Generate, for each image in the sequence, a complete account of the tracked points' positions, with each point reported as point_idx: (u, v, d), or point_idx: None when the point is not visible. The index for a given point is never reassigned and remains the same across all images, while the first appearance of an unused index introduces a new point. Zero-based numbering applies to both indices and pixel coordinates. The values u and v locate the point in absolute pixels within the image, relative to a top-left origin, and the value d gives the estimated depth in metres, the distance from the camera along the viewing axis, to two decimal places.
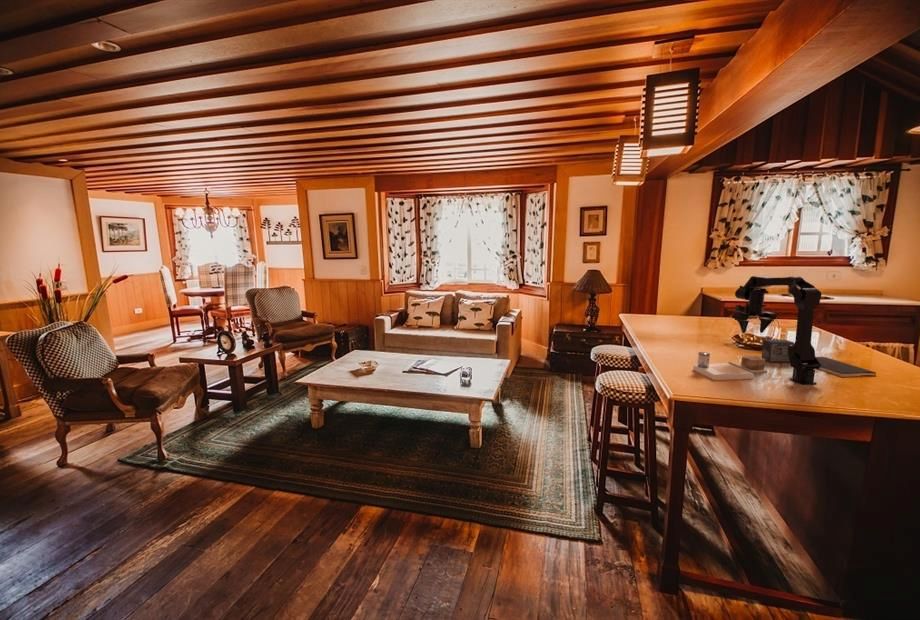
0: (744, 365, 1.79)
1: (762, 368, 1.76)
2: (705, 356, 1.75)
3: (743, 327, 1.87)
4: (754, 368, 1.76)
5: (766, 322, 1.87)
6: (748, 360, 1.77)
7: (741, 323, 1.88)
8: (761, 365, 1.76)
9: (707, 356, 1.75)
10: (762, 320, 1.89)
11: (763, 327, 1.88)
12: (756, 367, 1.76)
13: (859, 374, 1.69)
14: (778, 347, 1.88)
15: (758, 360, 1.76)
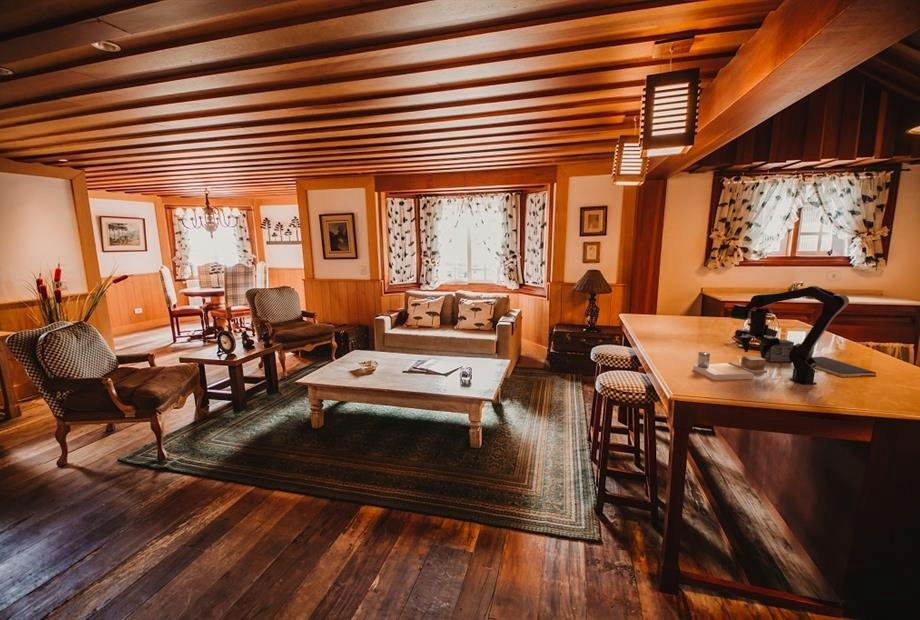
0: (744, 365, 1.79)
1: (762, 368, 1.76)
2: (705, 356, 1.75)
3: None
4: (754, 368, 1.76)
5: None
6: (748, 360, 1.77)
7: None
8: (761, 365, 1.76)
9: (707, 356, 1.75)
10: None
11: None
12: (756, 367, 1.76)
13: (859, 374, 1.69)
14: (778, 347, 1.88)
15: (758, 360, 1.76)
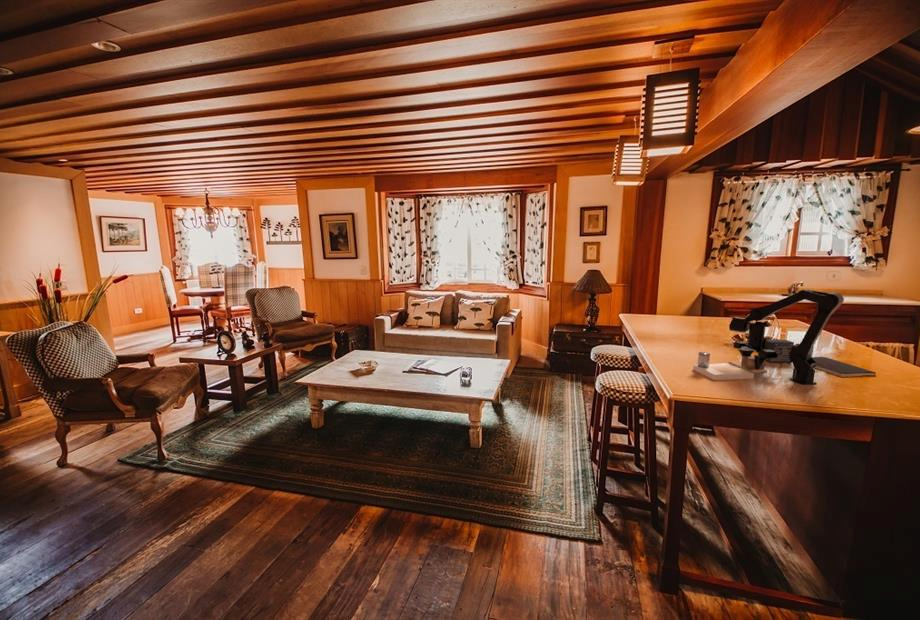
0: (744, 365, 1.79)
1: (762, 368, 1.76)
2: (705, 356, 1.75)
3: None
4: (754, 368, 1.76)
5: None
6: (748, 360, 1.77)
7: None
8: (761, 365, 1.76)
9: (707, 356, 1.75)
10: None
11: None
12: None
13: (859, 374, 1.69)
14: (778, 347, 1.88)
15: None
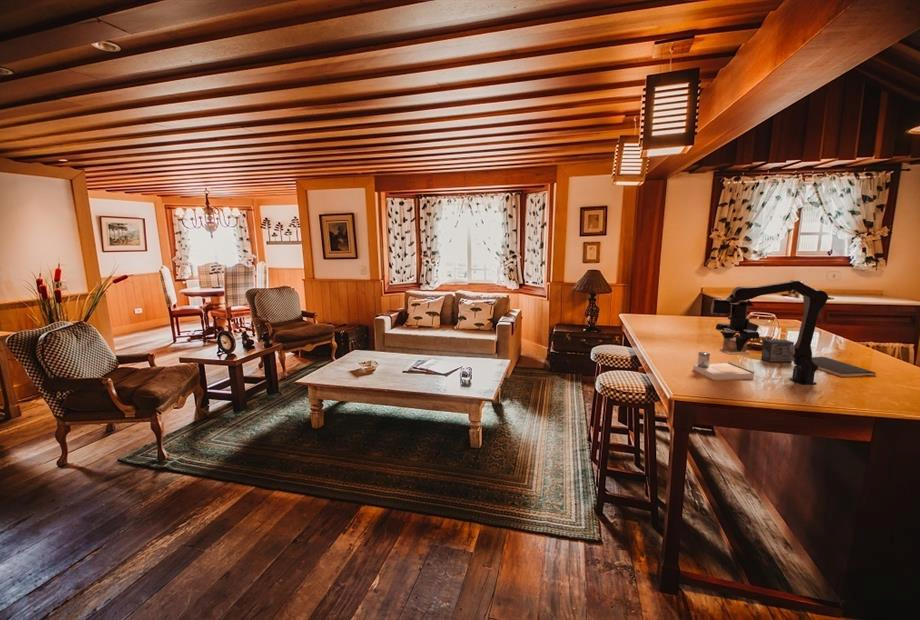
0: (726, 347, 1.72)
1: (744, 350, 1.70)
2: (705, 356, 1.75)
3: None
4: (736, 350, 1.69)
5: None
6: (730, 341, 1.70)
7: None
8: (743, 346, 1.69)
9: (707, 356, 1.75)
10: None
11: None
12: None
13: (859, 374, 1.69)
14: (778, 347, 1.88)
15: None
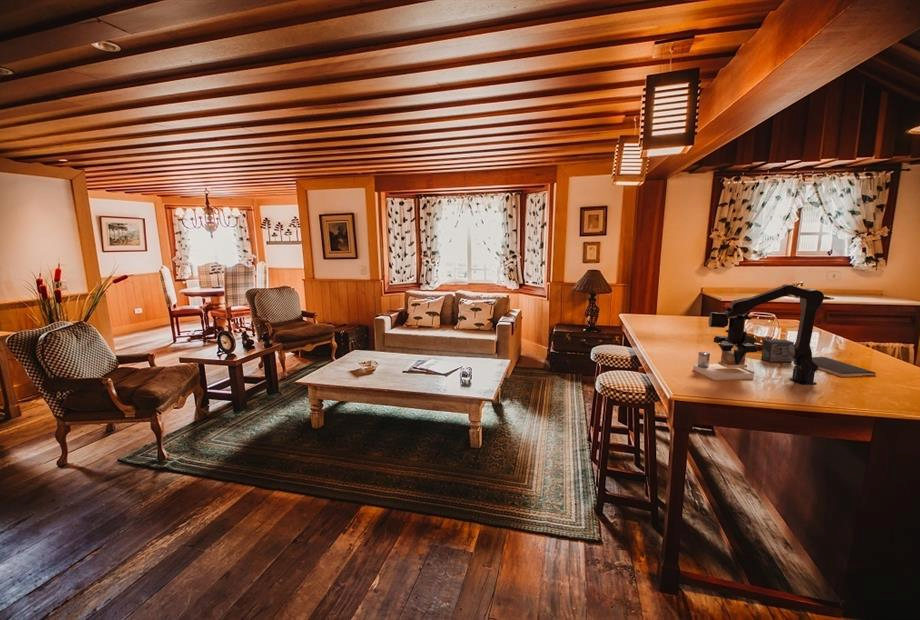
0: (724, 360, 1.73)
1: (742, 363, 1.70)
2: (705, 356, 1.75)
3: None
4: (734, 363, 1.70)
5: None
6: (728, 354, 1.70)
7: None
8: None
9: (707, 356, 1.75)
10: None
11: None
12: None
13: (858, 374, 1.69)
14: (778, 347, 1.88)
15: None
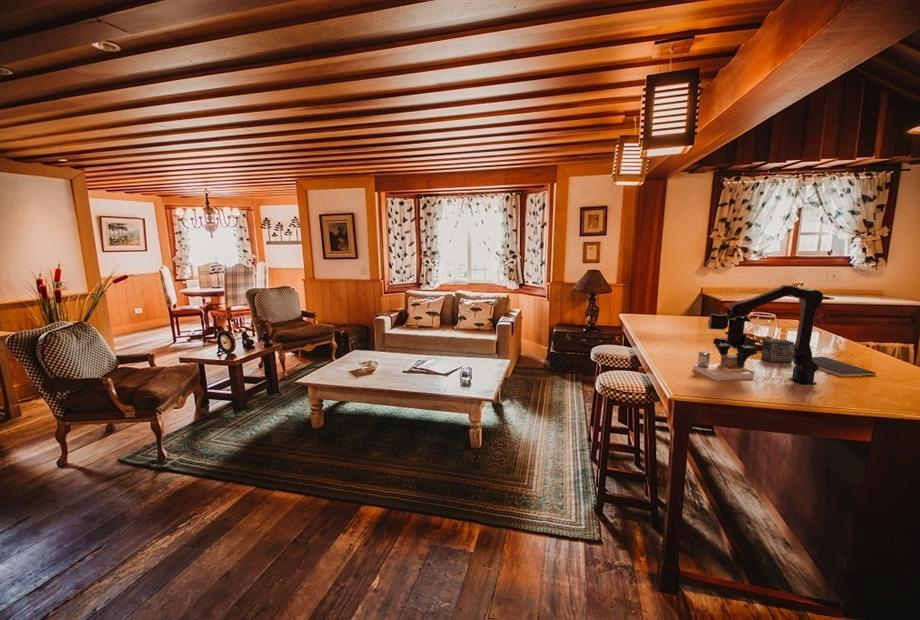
0: (723, 363, 1.73)
1: (742, 366, 1.71)
2: (705, 356, 1.75)
3: None
4: (733, 366, 1.70)
5: None
6: (727, 358, 1.71)
7: None
8: None
9: (707, 356, 1.75)
10: None
11: None
12: (736, 366, 1.70)
13: (858, 374, 1.69)
14: (778, 347, 1.88)
15: None
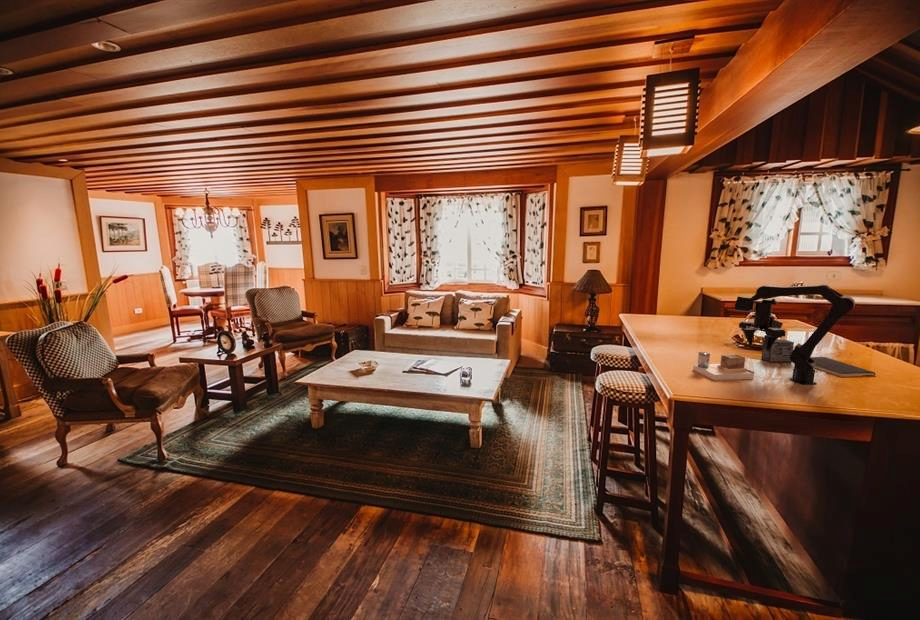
0: (723, 363, 1.73)
1: (742, 366, 1.71)
2: (705, 356, 1.75)
3: None
4: (733, 366, 1.70)
5: None
6: (727, 358, 1.71)
7: None
8: (741, 363, 1.70)
9: (707, 356, 1.75)
10: None
11: None
12: (736, 366, 1.70)
13: (858, 374, 1.69)
14: (778, 347, 1.88)
15: (737, 358, 1.70)
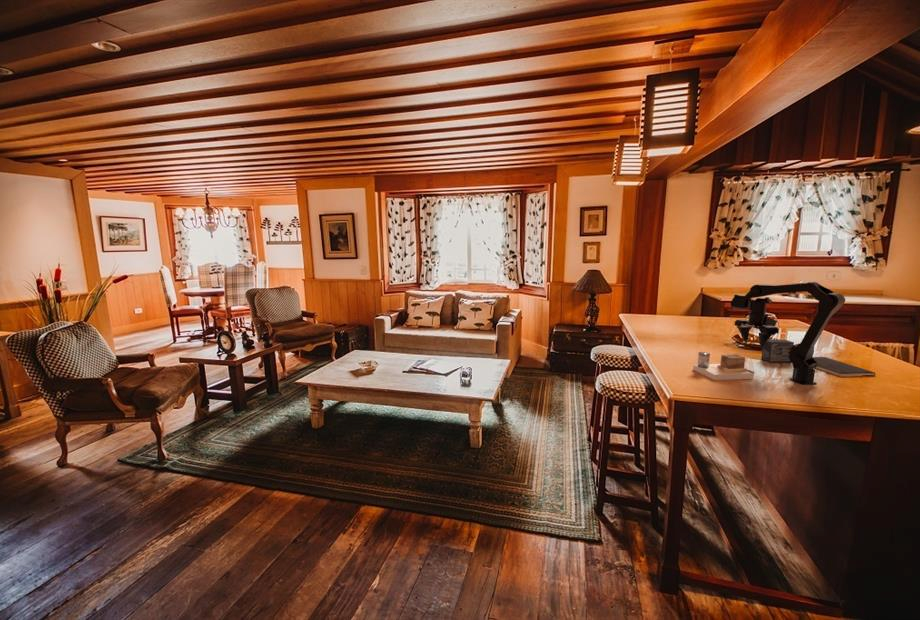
0: (723, 363, 1.73)
1: (742, 366, 1.71)
2: (705, 356, 1.75)
3: None
4: (733, 366, 1.70)
5: None
6: (727, 358, 1.71)
7: None
8: (741, 363, 1.70)
9: (707, 356, 1.75)
10: None
11: None
12: (736, 366, 1.70)
13: (858, 374, 1.69)
14: (778, 347, 1.88)
15: (737, 358, 1.70)
